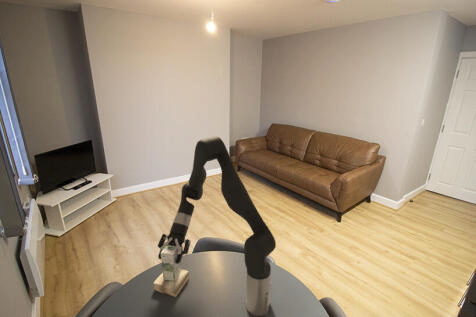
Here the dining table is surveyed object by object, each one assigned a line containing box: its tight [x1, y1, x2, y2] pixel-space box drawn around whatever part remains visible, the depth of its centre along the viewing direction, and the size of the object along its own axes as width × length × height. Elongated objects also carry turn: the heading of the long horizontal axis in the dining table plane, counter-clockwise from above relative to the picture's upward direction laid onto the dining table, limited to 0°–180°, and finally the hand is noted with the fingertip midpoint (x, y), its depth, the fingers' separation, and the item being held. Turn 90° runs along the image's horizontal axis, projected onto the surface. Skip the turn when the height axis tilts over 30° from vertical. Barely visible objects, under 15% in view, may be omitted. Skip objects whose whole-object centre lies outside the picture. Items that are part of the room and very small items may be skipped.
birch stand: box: [153, 268, 190, 298], centre depth 104 cm, size 11×11×4 cm
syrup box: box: [160, 245, 181, 281], centre depth 101 cm, size 6×6×14 cm
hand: (168, 261), depth 100 cm, fingers open, 8 cm apart
